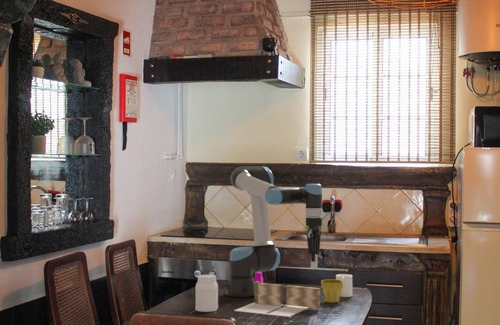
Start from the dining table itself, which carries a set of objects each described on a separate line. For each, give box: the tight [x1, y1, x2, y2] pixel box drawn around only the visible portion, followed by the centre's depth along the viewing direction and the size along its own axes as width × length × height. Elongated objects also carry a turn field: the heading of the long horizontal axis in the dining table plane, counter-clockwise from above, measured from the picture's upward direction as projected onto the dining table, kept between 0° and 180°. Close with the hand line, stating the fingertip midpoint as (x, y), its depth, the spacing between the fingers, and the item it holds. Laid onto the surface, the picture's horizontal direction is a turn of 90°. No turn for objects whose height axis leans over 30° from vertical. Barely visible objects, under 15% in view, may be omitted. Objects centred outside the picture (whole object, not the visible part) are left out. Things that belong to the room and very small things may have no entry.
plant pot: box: [320, 278, 343, 303], centre depth 339 cm, size 10×10×10 cm
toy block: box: [253, 271, 264, 284], centre depth 383 cm, size 15×6×8 cm, turn 77°
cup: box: [335, 273, 353, 298], centre depth 352 cm, size 8×12×10 cm
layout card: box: [234, 301, 310, 318], centre depth 321 cm, size 27×22×1 cm
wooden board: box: [281, 284, 322, 309], centre depth 323 cm, size 19×2×9 cm, turn 62°
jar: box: [194, 274, 219, 313], centre depth 321 cm, size 12×10×15 cm
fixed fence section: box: [254, 281, 283, 306], centre depth 330 cm, size 14×2×10 cm, turn 62°
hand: (314, 268), depth 327 cm, fingers closed
